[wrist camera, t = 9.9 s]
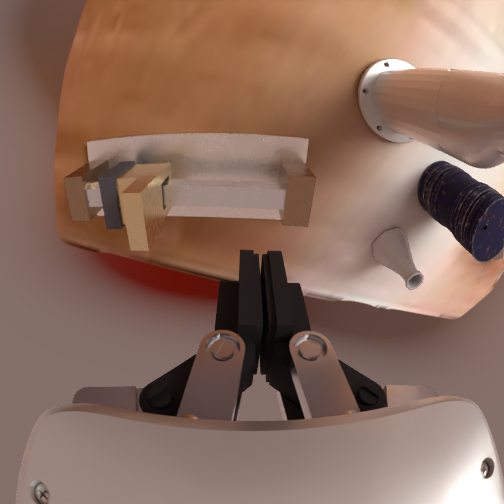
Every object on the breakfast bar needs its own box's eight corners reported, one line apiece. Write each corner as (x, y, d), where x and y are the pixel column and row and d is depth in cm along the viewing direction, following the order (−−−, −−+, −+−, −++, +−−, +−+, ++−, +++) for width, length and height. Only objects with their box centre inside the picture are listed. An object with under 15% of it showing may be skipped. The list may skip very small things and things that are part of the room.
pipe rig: (307, 137, 33) (324, 151, 26) (296, 217, 40) (307, 248, 33) (89, 140, 32) (57, 155, 25) (100, 213, 38) (75, 240, 31)
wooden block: (170, 161, 31) (140, 192, 22) (173, 206, 34) (149, 251, 25) (133, 163, 30) (93, 194, 22) (138, 206, 34) (105, 249, 25)
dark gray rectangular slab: (134, 160, 31) (113, 176, 25) (139, 206, 34) (121, 229, 29) (120, 161, 31) (98, 177, 25) (126, 206, 34) (107, 228, 29)
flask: (378, 269, 46) (400, 306, 37) (365, 241, 42) (389, 279, 34) (410, 249, 43) (437, 283, 35) (400, 219, 40) (430, 253, 32)
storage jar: (464, 170, 35) (522, 208, 22) (446, 218, 40) (495, 265, 27) (427, 152, 34) (491, 188, 21) (409, 206, 39) (460, 258, 26)
